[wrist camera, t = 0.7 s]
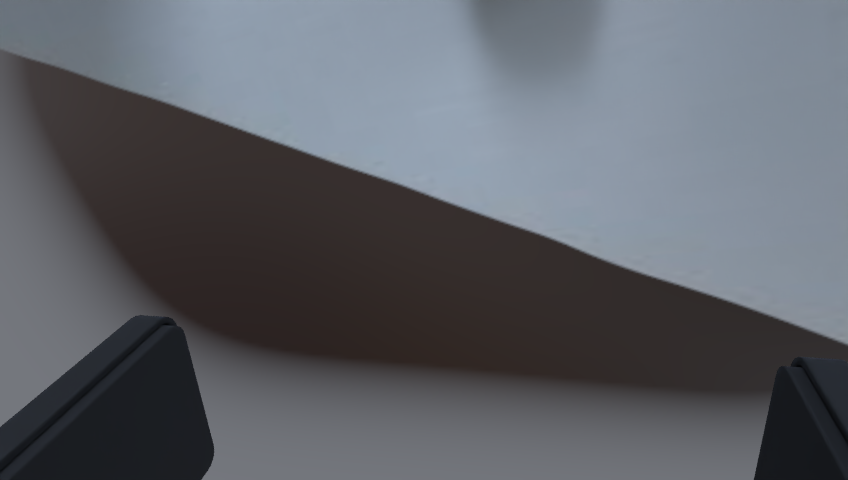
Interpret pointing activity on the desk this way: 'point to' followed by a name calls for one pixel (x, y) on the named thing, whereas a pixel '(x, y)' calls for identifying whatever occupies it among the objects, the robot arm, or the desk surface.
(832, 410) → the robot arm
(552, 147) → the desk surface
